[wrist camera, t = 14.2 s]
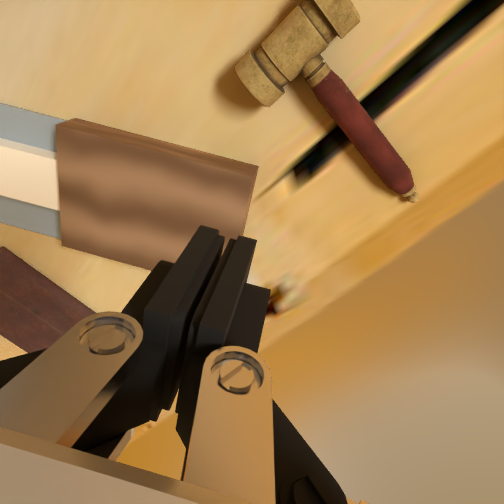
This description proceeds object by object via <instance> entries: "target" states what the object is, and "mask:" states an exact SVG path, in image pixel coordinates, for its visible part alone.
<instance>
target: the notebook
mask: <svg viewBox="0 0 504 504" xmlns="http://www.w3.org/2000/svg"><path fill="white" fill-rule="evenodd" d="M93 314H96V313H95V312H94V311H92V310H91V309H90V308H88V307H87V306H86V305H84V304H83V303H81V302H80V301H79V300H77V299H76V298H74V297H73V296H72V295H70V294H69V293H67V292H66V291H65V290H63V289H62V288H60V287H59V286H58V285H56V284H55V283H54V282H52V281H51V280H49V279H48V278H47V277H45V276H44V275H42V274H41V273H40V272H38V271H37V270H35V269H34V268H33V267H31V266H30V265H28V264H27V263H26V262H24V261H23V260H22V259H20V258H19V257H17V256H16V255H15V254H13V253H12V252H10V251H9V250H8V249H6V248H5V247H1V248H0V335H2V336H3V337H5V338H6V339H8V340H9V341H11V342H12V343H14V344H15V345H17V346H18V347H20V348H21V349H23V350H24V351H26V352H27V353H31V352H35V351H39V350H42V349H46V348H49V347H50V346H51V345H52V344H54V343H55V342H56V341H57V340H58V339H59V338H61V337H62V336H63V335H64V334H65V333H66V332H68V331H69V330H70V329H71V328H72V327H73V326H74V325H76V324H77V323H78V322H79V321H81V320H82V319H84V318H86V317H87V316H90V315H93Z"/></svg>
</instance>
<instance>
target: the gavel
mask: <svg viewBox="0 0 504 504" xmlns="http://www.w3.org/2000/svg"><path fill="white" fill-rule="evenodd" d="M359 22H360V16H359V14H358V12H357V10H356V8H355V6H354V5H353V3H352V2H351V0H305V1H304V2H303V3H302V4H301V5H300V6H299V5H297V6H296V7H295V8H294V9H293V11H292V12H291V13H290V14H289V15H288V16H287V17H286V18H285V19H284V20H283V21H282V22H281V23H280V24H279V25H278V26H277V27H276V29H275V30H274V31H273V32H272V33H271V34H270V35H269V36H268V37H267V38H266V39H265V40H264V41H263V42H262V43H261V45H262V46H261V47H260V48H259V49H258V50H257V51H256V53H254V52H253V51H251V50H249V51H248V53H247V54H246V55H245V56H244V57H243V58H242V59H241V60H240V61H239V62H238V63H237V64H236V65H235V71H236V74H237V76H238V78H239V80H240V81H241V83H242V84H243V85H244V87H245V88H246V89H247V90H248V92H249V93H250V94H251V95H252V96H253V97H254V98H255V99H256V100H257V101H258V102H259V103H261V104H262V105H264V106H266V107H270V106H271V105H272V104H273V103H274V102H275V101H276V100H278V99H279V98H280V97H281V96H282V95H283V94H284V93H285V91H284V88H283V86H284V85H285V84H287V83H288V82H289V81H292V80H293V79H294V78H295V77H297V76H298V75H299V74H301V76H302V77H303V78H305V77H306V78H307V80H306V81H307V83H308V84H309V85H310V86H311V88H312V90H313V91H314V93H315V95H316V97H317V99H318V100H319V102H320V103H321V104H322V105H323V107H324V108H325V109H326V110H327V112H328V113H329V114H330V116H331V117H332V118H333V119H334V121H335V122H336V123H337V124H338V126H339V127H340V128H341V129H342V131H343V132H344V133H345V134H346V136H347V137H348V138H349V139H350V141H351V142H352V143H353V144H354V146H355V147H356V148H357V149H358V151H359V152H360V153H361V154H362V156H363V157H364V158H365V159H366V161H367V162H368V163H369V164H370V166H371V167H372V168H373V169H374V171H375V172H376V173H377V174H378V176H379V177H380V178H381V179H382V181H383V182H384V183H385V185H386V186H387V187H388V188H390V189H392V190H394V191H395V192H397V193H399V194H400V195H401V196H402V197H408V200H409V201H410V202H412V203H415V202H417V201H418V200H419V196H418V194H417V193H415V190H416V186H415V185H414V182H413V179H412V175H411V171H410V169H409V168H408V166H407V165H406V164H405V162H404V161H403V160H402V158H401V157H400V156H399V155H398V153H397V152H396V151H395V149H394V148H393V147H392V145H391V144H390V143H389V141H388V140H387V139H386V137H385V136H384V135H383V133H382V132H381V131H380V129H379V128H378V127H377V125H376V124H375V123H374V121H373V120H372V119H371V117H370V116H369V115H368V113H367V112H366V111H365V110H364V108H363V107H362V106H361V104H360V103H359V102H358V100H357V99H356V98H355V96H354V95H353V94H352V92H351V91H350V90H349V88H348V87H347V86H346V84H345V83H344V82H343V80H342V79H341V78H340V77H339V76H337V75H336V74H335V73H334V72H333V71H332V70H331V69H330V68H329V66H328V65H327V64H326V63H323V62H322V61H323V60H324V59H323V58H322V57H321V55H320V54H321V53H322V52H323V51H324V50H325V49H326V48H327V47H328V43H329V42H330V41H331V40H332V39H333V38H335V37H336V36H337V35H338V36H339V37H340V38H341V39H342V38H343V37H344V36H345V35H346V34H347V33H348V32H349V31H350V30H352V29H353V28H354V27H355V26H356V25H357V24H358V23H359Z"/></svg>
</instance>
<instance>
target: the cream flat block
mask: <svg viewBox="0 0 504 504" xmlns="http://www.w3.org/2000/svg"><path fill="white" fill-rule="evenodd" d="M0 195H2V196H5V197H9V198H13V199H17V200H21V201H24V202H28V203H32V204H36V205H40V206H43V207H47V208H51V209H55V210H59V211H60V201H59V182H58V164H57V152H53V151H49V150H45V149H41V148H37V147H33V146H29V145H26V144H22V143H18V142H14V141H10V140H6V139H2V138H0Z"/></svg>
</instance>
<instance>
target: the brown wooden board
mask: <svg viewBox="0 0 504 504" xmlns="http://www.w3.org/2000/svg"><path fill="white" fill-rule="evenodd" d="M55 127H56V145H57V164H58V182H59V201H60V219H61V238H62V246H65V247H68V248H72V249H76V250H79V251H83V252H86V253H90V254H94V255H97V256H101V257H104V258H108V259H112V260H115V261H119V262H122V263H126V264H130V265H133V266H137V267H141V268H144V269H148V270H151V271H152V270H153V269H154V267H155V266H156V265H157V263H158V262H159V261H160V260H165V261H168V262H172V263H175V262H176V261H177V259H178V258H179V256H180V255H181V253H182V252H183V250H184V249H185V247H186V246H187V244H188V243H189V241H190V240H191V238H192V237H193V235H194V234H195V232H196V231H197V229H198V228H199V226H200V225H203V226H207V227H211V228H214V229H218V230H219V235H221V236H225V241H224V246H223V251H222V254H223V252H224V250H225V248H226V246H227V244H228V242H229V240H230V238H232V239H236V240H237V238H238V236H239V235H240V236H243V233H244V228H245V224H246V219H247V215H248V211H249V206H250V202H251V198H252V193H253V189H254V184H255V180H256V176H257V171H258V167H259V166H255V165H252V164H248V163H244V162H240V161H236V160H233V159H229V158H225V157H221V156H218V155H214V154H210V153H206V152H202V151H199V150H195V149H191V148H187V147H183V146H180V145H176V144H172V143H168V142H164V141H161V140H157V139H153V138H149V137H145V136H142V135H138V134H134V133H130V132H126V131H123V130H119V129H115V128H111V127H108V126H104V125H100V124H96V123H92V122H89V121H85V120H81V119H77V118H74V119H71V120H68V121H65V122H62V123H59V124H55Z"/></svg>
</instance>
